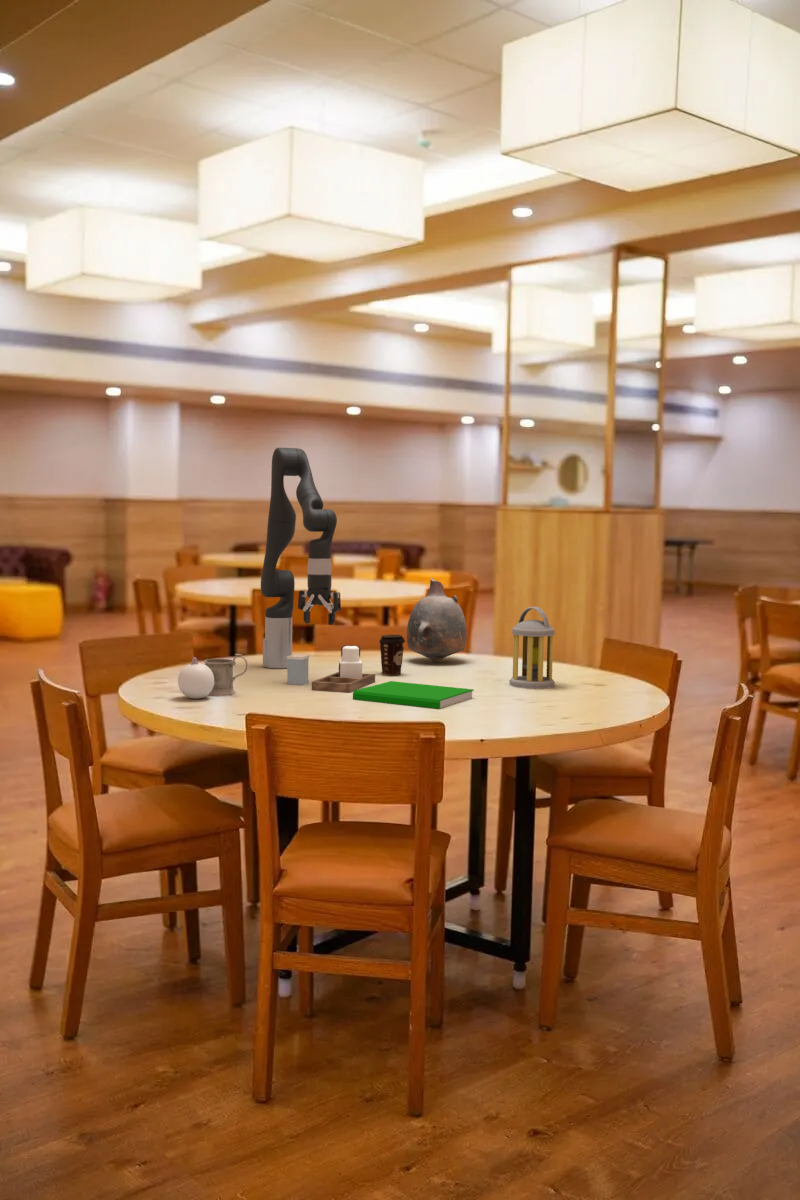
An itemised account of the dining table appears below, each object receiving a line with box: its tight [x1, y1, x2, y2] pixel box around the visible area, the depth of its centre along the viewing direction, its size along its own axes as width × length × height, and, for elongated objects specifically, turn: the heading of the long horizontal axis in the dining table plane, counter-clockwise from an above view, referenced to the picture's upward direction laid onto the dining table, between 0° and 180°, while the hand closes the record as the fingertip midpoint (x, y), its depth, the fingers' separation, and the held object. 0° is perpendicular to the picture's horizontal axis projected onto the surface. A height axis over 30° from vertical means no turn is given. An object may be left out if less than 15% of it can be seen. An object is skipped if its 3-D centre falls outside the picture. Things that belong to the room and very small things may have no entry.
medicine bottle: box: [338, 644, 363, 679], centre depth 376 cm, size 7×7×12 cm
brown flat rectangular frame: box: [311, 671, 376, 694], centre depth 371 cm, size 12×23×2 cm, turn 162°
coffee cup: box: [379, 634, 406, 676], centre depth 396 cm, size 9×8×13 cm
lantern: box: [509, 606, 556, 690], centre depth 378 cm, size 14×14×25 cm
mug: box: [204, 653, 249, 697], centre depth 353 cm, size 14×10×12 cm
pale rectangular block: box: [286, 653, 310, 686], centre depth 374 cm, size 5×5×9 cm
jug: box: [406, 577, 468, 663], centre depth 427 cm, size 24×21×30 cm
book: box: [352, 680, 474, 710], centre depth 350 cm, size 22×28×3 cm
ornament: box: [177, 656, 214, 700], centre depth 344 cm, size 10×10×12 cm
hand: (319, 624), depth 377 cm, fingers open, 8 cm apart
